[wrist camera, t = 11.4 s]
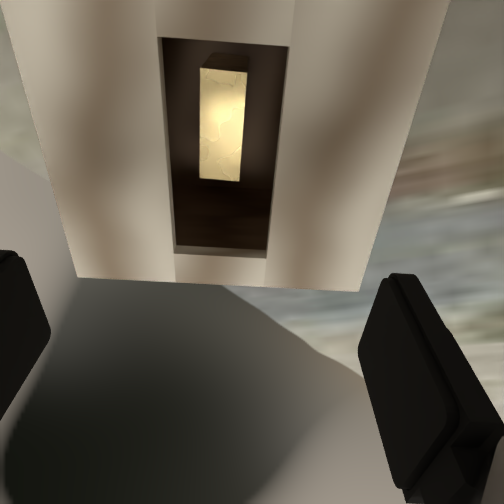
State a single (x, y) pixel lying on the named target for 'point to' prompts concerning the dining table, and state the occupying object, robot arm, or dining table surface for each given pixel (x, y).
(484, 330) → the dining table surface
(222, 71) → the tan flat block
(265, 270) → the box with rectangular opening
